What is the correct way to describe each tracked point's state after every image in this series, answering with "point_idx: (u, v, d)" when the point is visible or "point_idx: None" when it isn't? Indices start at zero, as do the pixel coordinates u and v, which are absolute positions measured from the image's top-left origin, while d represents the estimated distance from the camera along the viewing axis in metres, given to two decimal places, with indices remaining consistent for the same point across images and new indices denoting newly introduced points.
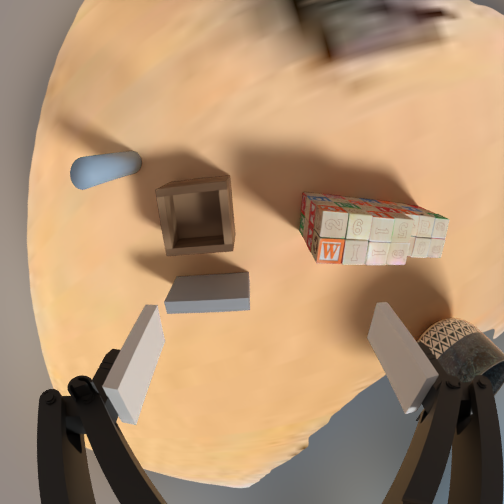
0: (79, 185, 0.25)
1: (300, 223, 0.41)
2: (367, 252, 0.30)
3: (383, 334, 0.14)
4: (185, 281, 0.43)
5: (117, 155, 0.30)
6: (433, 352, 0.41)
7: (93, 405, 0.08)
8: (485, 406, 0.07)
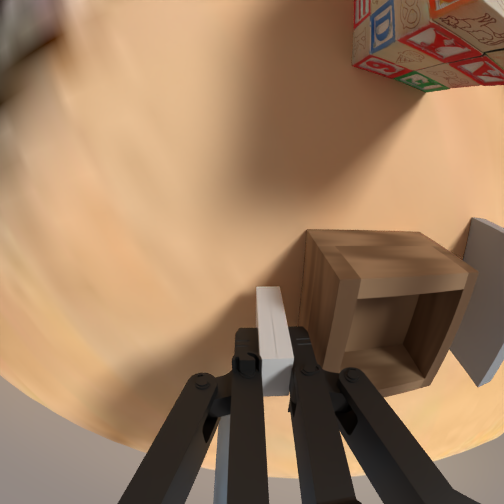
0: None
1: (414, 86, 0.14)
2: None
3: None
4: None
5: (222, 444, 0.16)
6: None
7: (250, 381, 0.10)
8: (368, 402, 0.09)
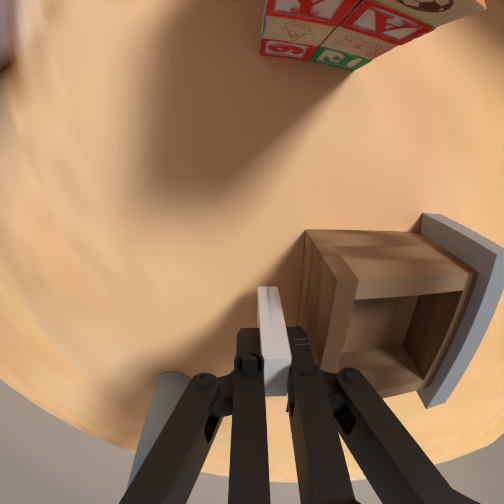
0: None
1: (336, 65, 0.13)
2: None
3: None
4: None
5: (142, 435, 0.16)
6: None
7: (253, 381, 0.10)
8: (366, 402, 0.09)
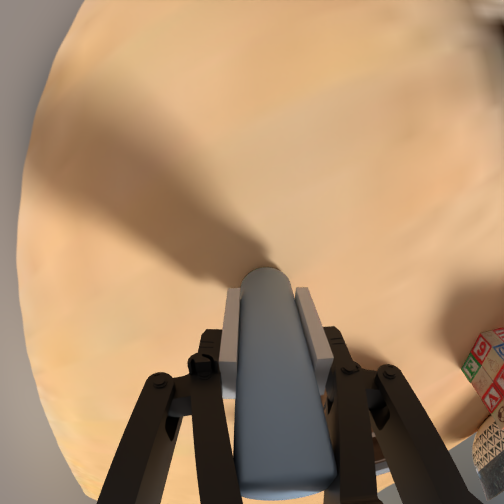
0: (265, 498, 0.07)
1: (465, 363, 0.25)
2: None
3: None
4: None
5: (300, 338, 0.12)
6: (501, 443, 0.24)
7: (208, 383, 0.10)
8: (402, 398, 0.08)
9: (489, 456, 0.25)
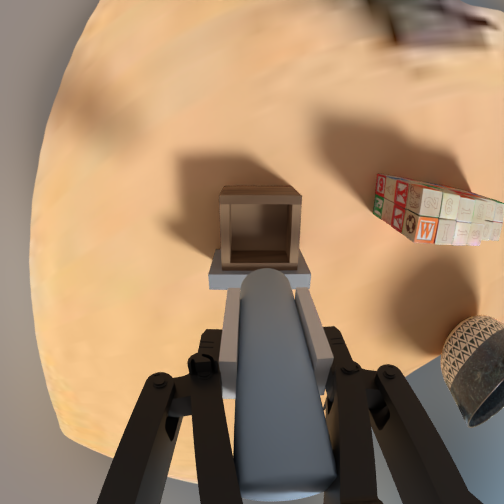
0: (265, 499, 0.07)
1: (374, 206, 0.37)
2: (454, 232, 0.26)
3: None
4: None
5: (300, 339, 0.12)
6: (468, 346, 0.36)
7: (208, 383, 0.10)
8: (402, 398, 0.08)
9: (457, 363, 0.37)
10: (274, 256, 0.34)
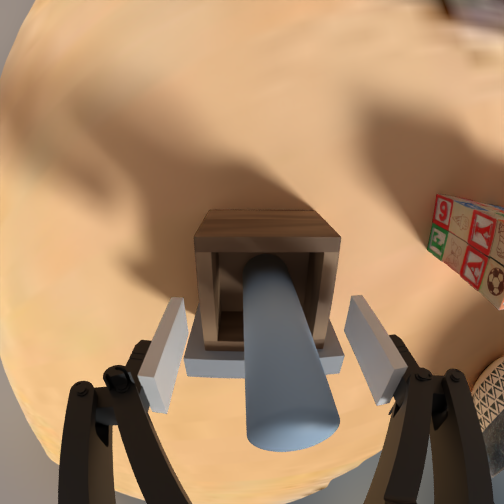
0: (275, 447, 0.09)
1: (430, 239, 0.24)
2: None
3: (357, 326, 0.15)
4: None
5: (299, 308, 0.15)
6: None
7: (127, 395, 0.09)
8: (461, 401, 0.07)
9: (490, 414, 0.24)
10: None
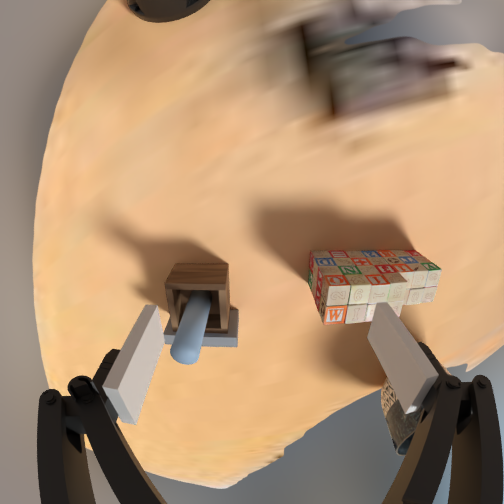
0: (180, 361, 0.32)
1: (309, 277, 0.46)
2: (366, 312, 0.35)
3: (383, 334, 0.14)
4: None
5: (201, 314, 0.37)
6: None
7: (93, 405, 0.08)
8: (485, 406, 0.07)
9: (390, 401, 0.47)
10: (212, 321, 0.44)
